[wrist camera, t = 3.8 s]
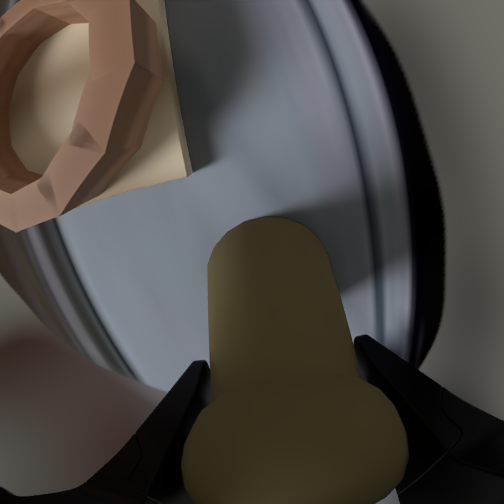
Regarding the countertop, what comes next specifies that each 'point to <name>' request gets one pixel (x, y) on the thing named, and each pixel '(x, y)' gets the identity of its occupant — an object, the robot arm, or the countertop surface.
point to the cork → (286, 383)
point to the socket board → (62, 102)
